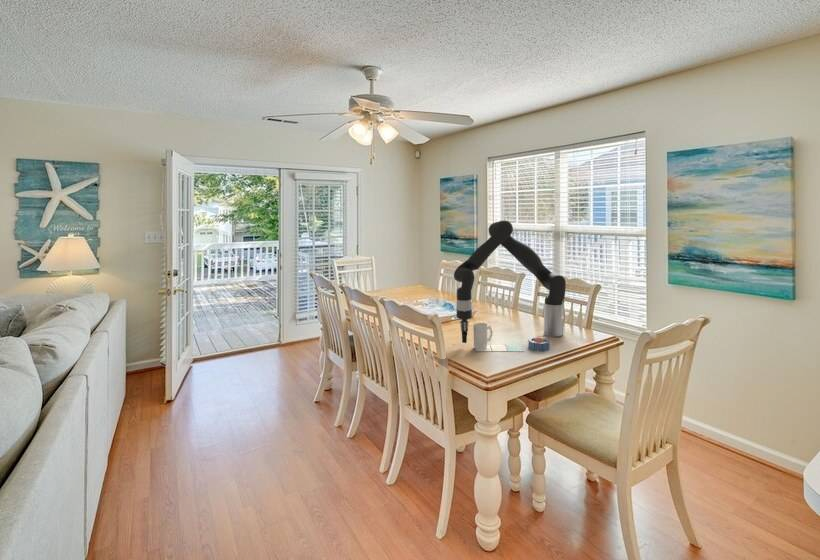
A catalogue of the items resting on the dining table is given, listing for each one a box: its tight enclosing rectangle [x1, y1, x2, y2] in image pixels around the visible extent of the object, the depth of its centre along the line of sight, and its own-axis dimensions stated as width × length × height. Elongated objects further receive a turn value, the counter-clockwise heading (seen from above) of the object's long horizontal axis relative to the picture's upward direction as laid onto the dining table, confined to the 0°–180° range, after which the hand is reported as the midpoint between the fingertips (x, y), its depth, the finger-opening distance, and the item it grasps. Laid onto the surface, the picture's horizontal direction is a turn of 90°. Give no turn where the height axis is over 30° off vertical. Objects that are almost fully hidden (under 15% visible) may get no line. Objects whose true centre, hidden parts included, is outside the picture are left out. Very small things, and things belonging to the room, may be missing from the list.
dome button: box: [533, 336, 545, 343], centre depth 208 cm, size 6×6×5 cm
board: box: [475, 343, 525, 353], centre depth 210 cm, size 22×11×1 cm, turn 85°
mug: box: [473, 322, 493, 350], centre depth 209 cm, size 10×7×12 cm, turn 109°
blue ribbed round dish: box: [527, 336, 550, 352], centre depth 208 cm, size 10×10×4 cm
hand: (464, 342), depth 211 cm, fingers closed
